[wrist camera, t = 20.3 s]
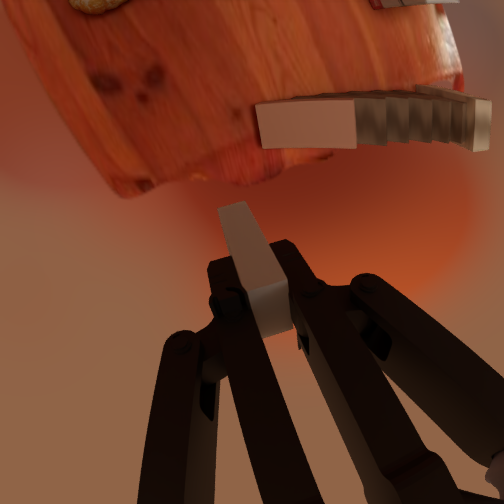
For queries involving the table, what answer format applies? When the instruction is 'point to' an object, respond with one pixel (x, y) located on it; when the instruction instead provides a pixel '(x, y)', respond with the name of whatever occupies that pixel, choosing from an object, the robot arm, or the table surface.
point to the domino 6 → (452, 117)
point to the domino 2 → (366, 118)
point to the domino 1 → (307, 123)
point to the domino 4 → (416, 116)
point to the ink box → (405, 3)
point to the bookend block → (468, 115)
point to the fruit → (95, 5)
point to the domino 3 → (390, 115)
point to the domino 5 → (436, 116)
